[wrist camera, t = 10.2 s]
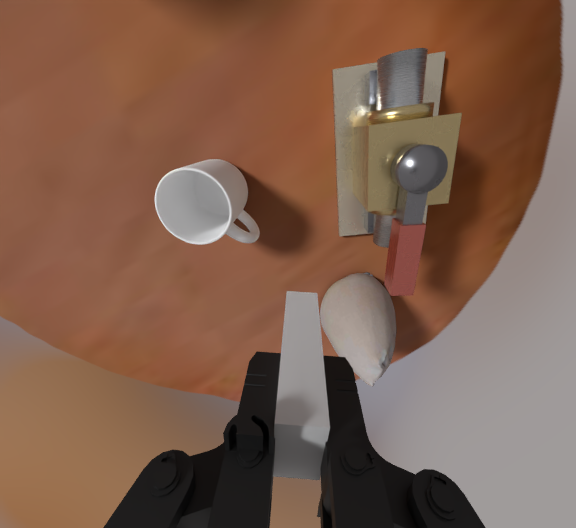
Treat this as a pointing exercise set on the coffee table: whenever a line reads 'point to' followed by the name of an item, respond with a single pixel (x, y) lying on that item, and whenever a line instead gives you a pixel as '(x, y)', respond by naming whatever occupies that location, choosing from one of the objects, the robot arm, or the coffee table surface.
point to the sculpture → (360, 324)
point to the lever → (411, 212)
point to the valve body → (386, 135)
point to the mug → (205, 203)
